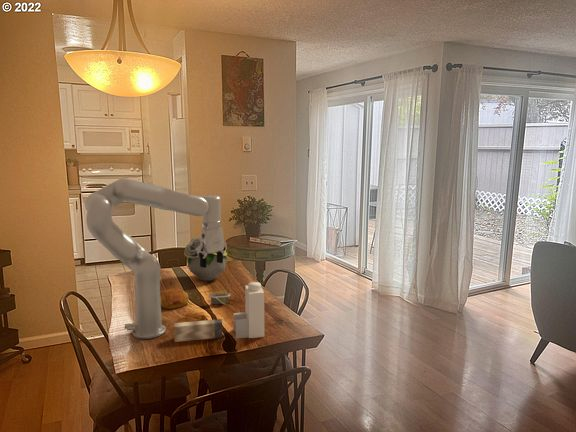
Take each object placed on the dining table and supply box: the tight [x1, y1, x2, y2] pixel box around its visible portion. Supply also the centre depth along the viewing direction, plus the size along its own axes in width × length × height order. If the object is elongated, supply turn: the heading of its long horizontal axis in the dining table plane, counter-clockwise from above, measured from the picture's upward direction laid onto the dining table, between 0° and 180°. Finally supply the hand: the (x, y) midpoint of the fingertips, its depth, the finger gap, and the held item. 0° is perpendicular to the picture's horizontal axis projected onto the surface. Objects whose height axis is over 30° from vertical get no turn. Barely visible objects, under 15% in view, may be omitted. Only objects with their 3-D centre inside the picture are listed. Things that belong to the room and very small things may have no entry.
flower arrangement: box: [183, 236, 228, 282], centre depth 234 cm, size 25×25×24 cm
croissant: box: [160, 288, 190, 310], centre depth 197 cm, size 14×16×8 cm
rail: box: [173, 318, 223, 343], centre depth 162 cm, size 18×4×6 cm, turn 103°
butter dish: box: [208, 290, 231, 305], centre depth 197 cm, size 12×18×7 cm, turn 102°
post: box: [233, 281, 265, 339], centre depth 166 cm, size 11×10×20 cm
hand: (211, 264), depth 178 cm, fingers open, 9 cm apart
